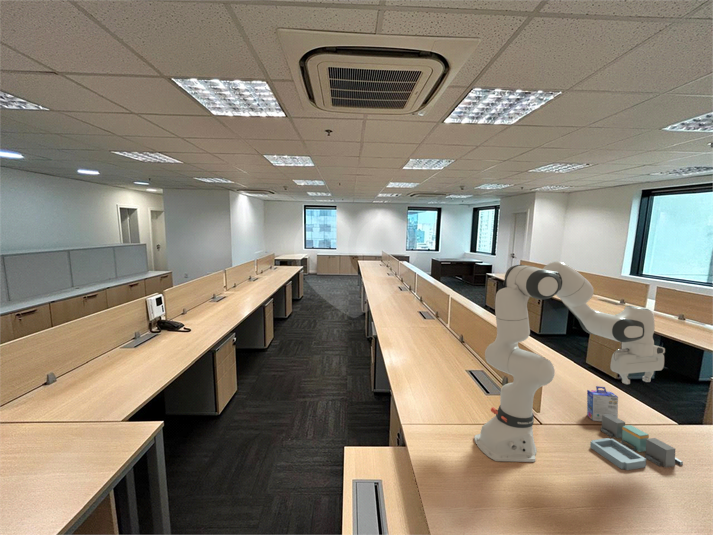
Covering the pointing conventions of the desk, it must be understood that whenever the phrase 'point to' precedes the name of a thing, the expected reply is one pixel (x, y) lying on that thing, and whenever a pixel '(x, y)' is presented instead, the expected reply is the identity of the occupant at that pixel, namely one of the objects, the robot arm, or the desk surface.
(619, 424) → the block
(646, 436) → the block
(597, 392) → the ink cartridge box
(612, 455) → the tray
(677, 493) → the desk surface
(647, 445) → the block
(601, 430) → the clip rail
